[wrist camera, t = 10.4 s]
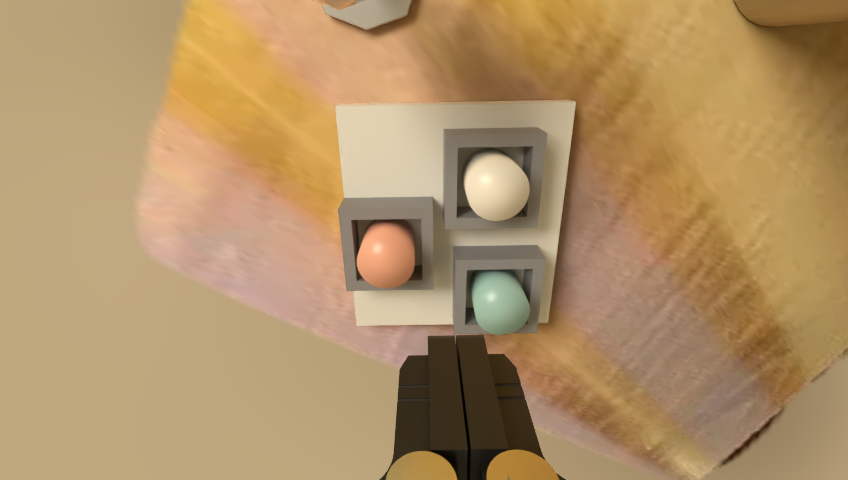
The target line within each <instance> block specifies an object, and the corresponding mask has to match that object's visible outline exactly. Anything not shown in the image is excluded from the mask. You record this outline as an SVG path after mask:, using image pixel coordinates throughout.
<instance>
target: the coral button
mask: <svg viewBox="0 0 848 480" xmlns="http://www.w3.org/2000/svg"><path fill="white" fill-rule="evenodd" d="M415 241H416V238H415V233H414V230H413V228H412V227H411V225H410V224H409V223H408V222H407V221H406V220H404V219H377V220H373V221H372V222H371V223H370V224H369V225H368V227H367V229H366V231H365V234H364V237H363V241H362V244H361V247H360V250H359V253H358V256H357V267H358V271H359V273H360V274H361V276H362V277H363V278H364V280H366V281H367V282H368V283H370V284H371V285H373V286H376V287H379V288H395V287H398V286H400V285H402V284H404V283H405V282H406V281H407V280H408V279H409V278H410V277H411V275H412V273H413V271H414V267H415Z"/></svg>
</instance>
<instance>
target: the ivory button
mask: <svg viewBox="0 0 848 480" xmlns="http://www.w3.org/2000/svg"><path fill="white" fill-rule="evenodd" d="M462 183H463V186H464V189H465V192H466V195H467V198H468V201H469V204H470V206H471V208H472V210H473V211H474V212H475V213H476V214H477V215H478V216H480V217H482V218H484V219H486V220H490V221H502V220H506V219H509V218H511V217H513V216H515V215H516V214H517V213H519V212H520V211H521V210H522V208H523V207H524V206H525V204H526V202H527V200H528V197H529V192H530V186H529V181H528V178H527V176H526V174H525V173H524V172H523V170H522V169H521V168H520V167H519V166H518V165H517V164H516V163H515V161H514V160H513V159H512V158H511V157H510V156H509V155H508V154H507V153H506V152H504V151H502V150H500V149H497V148H485V149H481V150H479V151H477V152H475V153H473V154H472V155H471V156H470V157H469V158H468V159H467V161H466V162H465V164H464V166H463V170H462Z"/></svg>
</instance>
